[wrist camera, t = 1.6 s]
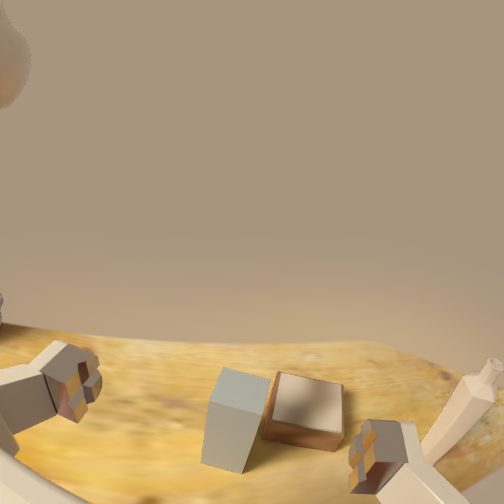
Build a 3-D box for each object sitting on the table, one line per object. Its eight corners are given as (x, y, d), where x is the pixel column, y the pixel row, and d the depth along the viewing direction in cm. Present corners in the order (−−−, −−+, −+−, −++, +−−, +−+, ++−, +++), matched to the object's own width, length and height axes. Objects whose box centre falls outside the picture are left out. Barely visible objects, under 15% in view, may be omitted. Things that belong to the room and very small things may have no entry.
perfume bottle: (413, 439, 30) (478, 343, 25) (440, 454, 28) (511, 360, 22) (399, 463, 27) (473, 365, 21) (428, 479, 25) (510, 384, 19)
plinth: (261, 438, 30) (267, 420, 28) (272, 388, 37) (278, 369, 36) (334, 452, 29) (345, 435, 28) (335, 401, 36) (344, 383, 35)
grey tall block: (200, 462, 26) (209, 400, 22) (211, 433, 29) (223, 367, 26) (241, 474, 25) (262, 414, 21) (249, 443, 29) (270, 379, 25)
